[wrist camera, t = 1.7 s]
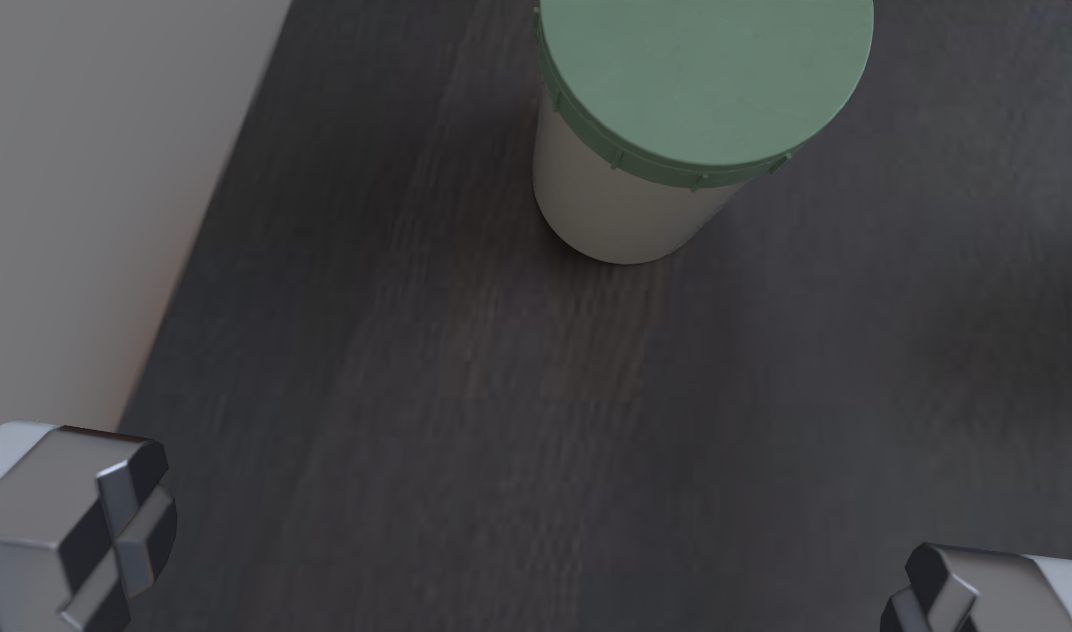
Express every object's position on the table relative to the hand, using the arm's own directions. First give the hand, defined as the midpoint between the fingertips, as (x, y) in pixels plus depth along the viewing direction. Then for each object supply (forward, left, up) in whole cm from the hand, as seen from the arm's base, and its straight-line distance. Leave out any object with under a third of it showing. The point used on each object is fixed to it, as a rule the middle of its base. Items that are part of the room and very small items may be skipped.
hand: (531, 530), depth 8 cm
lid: (+1, +10, -5) cm, 11 cm away
